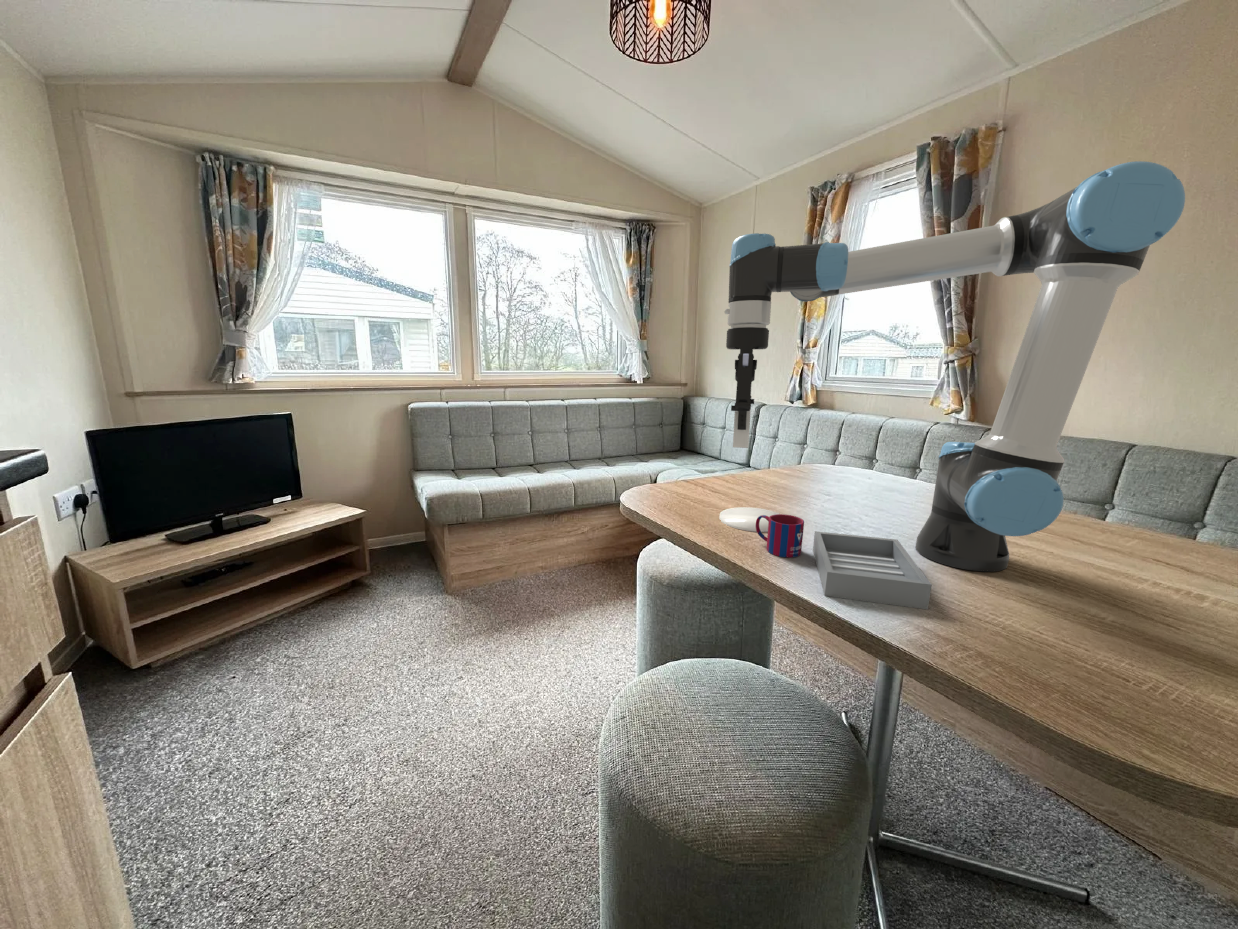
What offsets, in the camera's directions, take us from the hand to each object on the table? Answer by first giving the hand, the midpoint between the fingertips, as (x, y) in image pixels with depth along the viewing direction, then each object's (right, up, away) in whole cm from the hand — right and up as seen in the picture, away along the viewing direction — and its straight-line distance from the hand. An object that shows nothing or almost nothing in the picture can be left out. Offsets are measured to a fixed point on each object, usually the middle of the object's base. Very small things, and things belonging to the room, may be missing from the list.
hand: (741, 441), depth 93 cm
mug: (+9, -22, +6) cm, 25 cm away
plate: (+9, -18, +24) cm, 31 cm away
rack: (+20, -25, -6) cm, 32 cm away
